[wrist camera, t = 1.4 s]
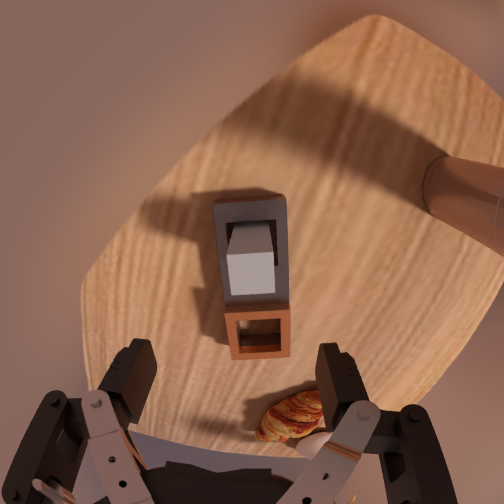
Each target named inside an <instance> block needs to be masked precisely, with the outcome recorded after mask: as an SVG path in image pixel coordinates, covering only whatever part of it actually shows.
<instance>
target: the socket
mask: <svg viewBox="0 0 504 504" xmlns="http://www.w3.org/2000/svg"><path fill="white" fill-rule="evenodd" d="M212 206H213V215H214V223H215V232H216V240H217V248H218V256H219V264H220V271H221V279H222V286H223V293H224V300H225V312H224V315H225V321H226V328H227V334H228V340H229V346H230V352H231V358H232V360H247V359H267V358H282V357H290V305H289V265H288V230H287V204H286V198H285V196H284V195H275V196H259V197H244V198H232V199H220V200H215V201H214V203H213V204H212ZM273 219H275V230H276V252H277V258H274V276H275V293H264V294H247V295H231V288H230V280H229V272H228V264H227V251H228V247H229V243H230V237H229V228H228V223H229V222H243V221H257V220H273ZM276 318H279V333H275V334H259V335H241V332H240V324H239V321H241V320H261V319H276Z"/></svg>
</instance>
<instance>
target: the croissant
mask: <svg viewBox="0 0 504 504" xmlns="http://www.w3.org/2000/svg"><path fill="white" fill-rule="evenodd" d="M322 415H323V411H322V406H321V401H320V396H319V391H318V390H314V391H303V392H300V393H298V394H297V395H295V396H293V397H288V398H286V399H284V400H282V401H281V402H280V403H278V404H276V405H274V406H273V407H270V408H269V409H268V410H267V411H266V413H265V414H264V416H263V420H262V422H261V423H260V425H259V427H258V429H257V431H256V433H255V438H256V440H263V441H266V442H269V441H271V440H276V441H280V442H284V441H286V440H288V439H289V437H292V438H298V437H302V436H306V435H308V434H309V433H311V432H312V430H313V429H315V428H316V427H317V425H318V423H319V419H320V417H322Z"/></svg>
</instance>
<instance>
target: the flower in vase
mask: <svg viewBox="0 0 504 504" xmlns="http://www.w3.org/2000/svg"><path fill="white" fill-rule="evenodd" d="M332 434H333V432H330V433H327V432H320V433H316V434H312V435H310V436H307V437H305V438H303V439H302V440H300V441H299V442H298V444H297V445H296V450H297V452H298V453H299V454H301V455H302V456H304V457H306V458H309V459H313V458H314V457H315V455H316V454H317V453H318V451H319V450H320V448H321V447H322V446H323V444H324V443H325V442H327V441H328V440H329V438H330V437H331V435H332ZM355 498H356V496H352V497H351V498H350V500H349V502H348V503H347V504H354V502H355V501H354V500H355ZM333 503H334V504H336V503H335V502H334V501H333Z"/></svg>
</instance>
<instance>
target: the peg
mask: <svg viewBox="0 0 504 504" xmlns="http://www.w3.org/2000/svg"><path fill="white" fill-rule="evenodd" d="M227 264H228V272H229V280H230V288H231V295H247V294H264V293H275V276H274V254H273V246H272V240H271V234H270V228H269V222H268V221H255V222H241V223H235V224H234V228H233V232H232V235H231V239H230V243H229V247H228V251H227Z"/></svg>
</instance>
